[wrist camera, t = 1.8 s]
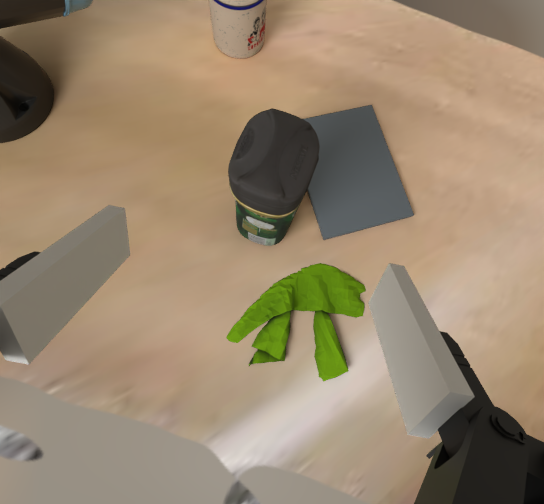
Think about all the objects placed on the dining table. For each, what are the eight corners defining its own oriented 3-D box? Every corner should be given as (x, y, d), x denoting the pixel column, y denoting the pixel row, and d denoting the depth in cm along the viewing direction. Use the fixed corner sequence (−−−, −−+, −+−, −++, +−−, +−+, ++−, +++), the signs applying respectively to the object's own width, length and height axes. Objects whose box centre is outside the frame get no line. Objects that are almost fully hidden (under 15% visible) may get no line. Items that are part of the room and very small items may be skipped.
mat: (286, 124, 45) (286, 122, 45) (370, 107, 47) (371, 104, 47) (323, 240, 42) (324, 239, 42) (411, 216, 44) (414, 215, 44)
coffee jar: (252, 178, 43) (254, 87, 25) (300, 196, 43) (336, 118, 25) (229, 235, 41) (212, 179, 23) (278, 253, 41) (301, 213, 23)
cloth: (375, 271, 43) (382, 269, 40) (359, 426, 38) (366, 434, 36) (244, 246, 42) (243, 242, 39) (212, 402, 37) (209, 408, 35)
